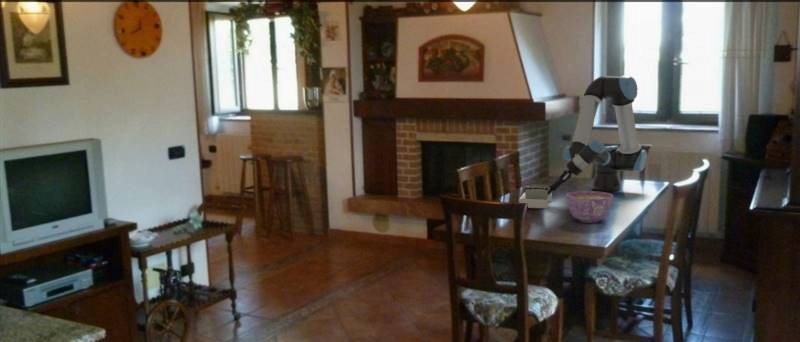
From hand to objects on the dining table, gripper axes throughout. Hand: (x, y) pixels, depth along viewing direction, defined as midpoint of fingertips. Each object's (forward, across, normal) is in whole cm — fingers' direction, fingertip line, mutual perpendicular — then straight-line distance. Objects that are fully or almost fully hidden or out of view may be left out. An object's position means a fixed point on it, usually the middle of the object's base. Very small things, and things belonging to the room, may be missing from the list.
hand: (542, 197), depth 367 cm
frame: (+4, 0, 0) cm, 4 cm away
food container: (+4, +3, +1) cm, 5 cm away
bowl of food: (-15, +34, +20) cm, 42 cm away
